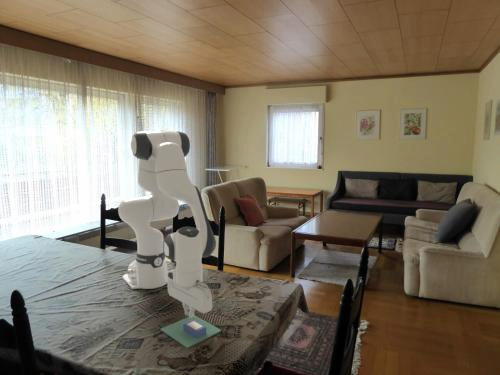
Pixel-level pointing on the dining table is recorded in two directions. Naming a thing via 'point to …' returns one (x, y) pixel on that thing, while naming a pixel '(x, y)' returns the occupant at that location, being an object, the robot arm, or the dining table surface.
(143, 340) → the dining table surface
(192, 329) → the block
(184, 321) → the mat
